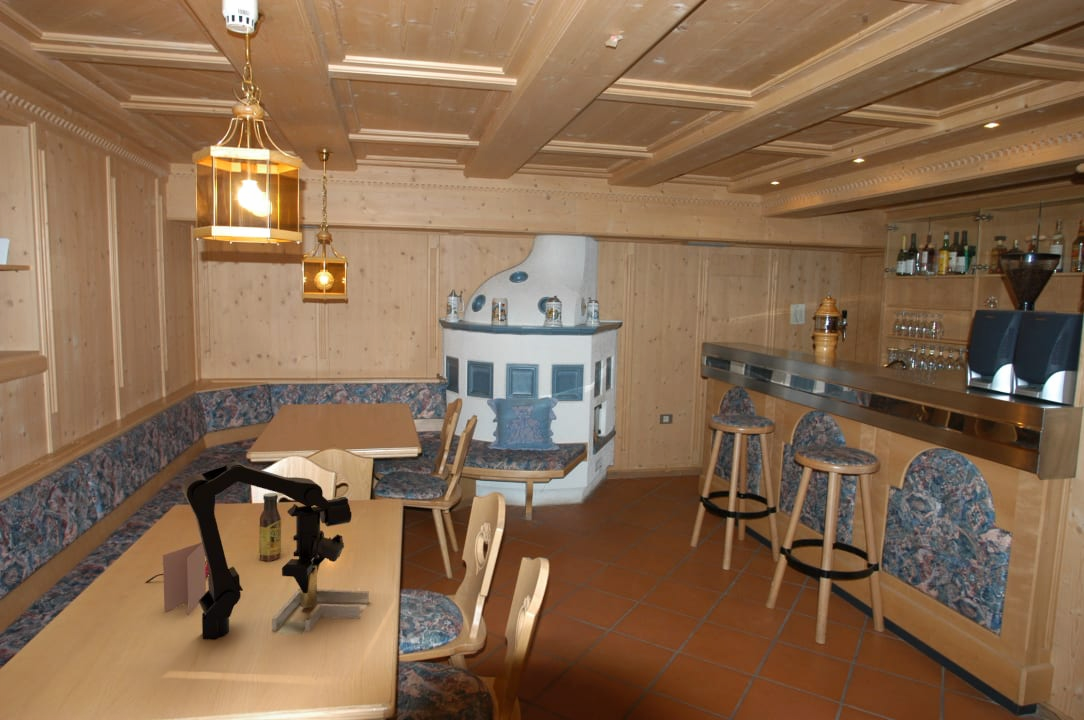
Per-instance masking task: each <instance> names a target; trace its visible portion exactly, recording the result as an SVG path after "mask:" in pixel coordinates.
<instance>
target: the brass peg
mask: <svg viewBox="0 0 1084 720" xmlns="http://www.w3.org/2000/svg"><path fill="white" fill-rule="evenodd" d="M312 567H313V568H316V569H315V570H314V571H313V572H312V573H311V574H310V582H309V588H308V593H303V592H302V590H301V588H300V587H299V589H300V607H302V608H305V609H307V608H313V607H316V606H317V604H318V602H317V589H318V573H317V565H316V564H314V563H312Z"/></svg>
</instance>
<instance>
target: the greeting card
mask: <svg viewBox="0 0 1084 720" xmlns="http://www.w3.org/2000/svg"><path fill="white" fill-rule="evenodd" d="M205 563H206V556H205V552H204V548H203V544H202V541H201V542H198V543H195V544H192V545H189V546H187V547H186V546H185V547H184V548H181V549H177V550H174V551H172V552H168V553H165V554H163V555H162V566H163V567H162V568H163V569H162V571H163V573H162V574H163V575H162V576H163V603H164V604H163V607H164V608H163V610H164V613H166V611H167V612H169V611H171V609H172V610H174V609H176V607H177V608H178V606H179V607H181V606H183V604H184V605H186V604H187V612H188V613H187V615H188V616H190V615H191V613H192V612H193V611H194V610H195V609H196V608H197V606H198V605H200V603H199V600H200V599H201V598H202V597H203V595H204V594H205V593H206V592H207V589H206V587H207V585H206V582H207V581H206V579H207V577H206V576H205V567H206V565H205ZM180 605H181V606H180ZM173 608H174V609H173ZM194 608H195V609H194ZM193 609H194V610H193ZM168 610H169V611H168ZM192 610H193V611H192ZM191 611H192V612H191Z"/></svg>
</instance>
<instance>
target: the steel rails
mask: <svg viewBox="0 0 1084 720" xmlns="http://www.w3.org/2000/svg"><path fill="white" fill-rule="evenodd" d="M369 600H370V591H367V590H350V589H345V590H343V589H318V588H317V604H316V605H315V606H314V609H313V610H312V611H311V612H310V613H309V615H307V616H306V618H305V619H304V621H305V630H304V632H305V633H310V632H311V631H312V630H313V628H314V627H315V625H316V624H317V623H318V622H319V620H320V619H321V618H335V619H359V618H360V617H361V615H360V605H344V604H365V605H367V604H369V603H370V601H369ZM336 603H337V604H336ZM339 603H340V604H339ZM299 605H301V602H300V588H298V589H297V590H296V592H294V593H293V594H292V595H291V597H290V598H289V599H288V600H287V602H285V603H284V605H283V606H281V608H280V609H279V610H278V611H277V613H276V614H274V616H273V617H272V618H271V631H273V632H274V631H275V632H276V631H277V632H278V630H279V629H280V628H281V627H282V626H283V624H284V623H285V622H286V621H287V619H288V617H289V616H290V615H291V614H292V613H293V612H294V610H296V608H297V607H298V606H299Z"/></svg>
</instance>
